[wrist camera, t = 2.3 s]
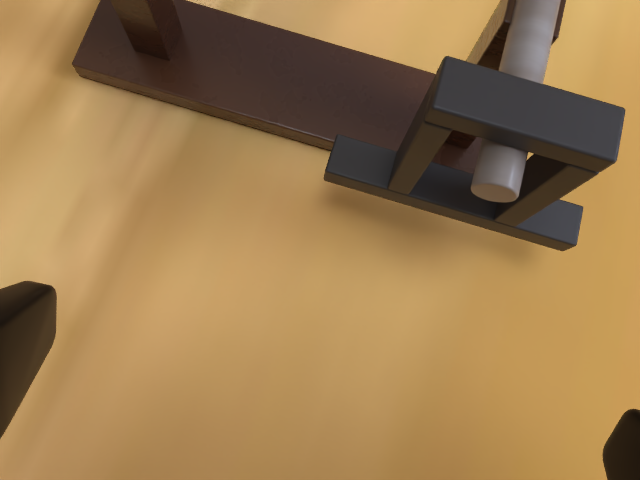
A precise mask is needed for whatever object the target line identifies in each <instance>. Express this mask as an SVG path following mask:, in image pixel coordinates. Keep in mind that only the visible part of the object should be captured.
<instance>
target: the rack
mask: <svg viewBox="0 0 640 480" xmlns="http://www.w3.org/2000/svg"><path fill="white" fill-rule="evenodd" d="M565 3H566V0H501V1H500V2H499V4H498V6H497V8H496V9H495V11H494V13H493V15H492V16H491V18H490V20H489V22H488V23H487V25H486V27H485V28H484V30H483V32H482V34H481V35H480V37H479V39H478V41H477V42H476V44H475V46H474V48H473V49H472V51H471V53H470V55H469V56H468V58H467V60H466V62H470V63H473V64H477V65H480V66H483V67H487V68H490V69H494V70H497V71H500V72H504V73H507V74H511V75H514V76H517V77H521V78H524V79H528V80H531V81H534V82H538V83H541V84H543V80H544V76H545V71H546V67H547V62H548V57H549V53H550V48H551V45H552V44H553V43H554V42H555V40H556V39H557V38H558V35H559V31H560V26H561V21H562V17H563V12H564V7H565ZM72 65H73V67H74V68H75V70H76V71H77V72H78V74H79V75H80V76H82V77H85V78H89V79H92V80H95V81H99V82H102V83H105V84H109V85H112V86H115V87H119V88H122V89H126V90H129V91H132V92H136V93H139V94H142V95H146V96H149V97H152V98H156V99H159V100H163V101H166V102H169V103H173V104H176V105H179V106H183V107H186V108H189V109H193V110H196V111H200V112H203V113H206V114H210V115H213V116H216V117H220V118H223V119H226V120H230V121H233V122H237V123H240V124H243V125H247V126H250V127H253V128H257V129H260V130H263V131H267V132H270V133H274V134H277V135H280V136H284V137H287V138H290V139H294V140H297V141H300V142H304V143H307V144H310V145H314V146H317V147H321V148H324V149H327V150H332V147H333V144H334V140H335V137H336V135H337V134H340V135H344V136H347V137H350V138H354V139H357V140H360V141H364V142H367V143H371V144H374V145H377V146H381V147H384V148H387V149H391V150H394V151H398V149H399V147H400V145H401V143H402V141H403V139H404V137H405V135H406V133H407V131H408V129H409V127H410V125H411V123H412V121H413V119H414V117H415V115H416V113H417V111H418V109H419V107H420V105H421V103H422V101H423V99H424V97H425V95H426V93H427V91H428V89H429V87H430V85H431V83H432V81H433V79H434V77H435V75H436V74H433V73H430V72H427V71H423V70H420V69H416V68H413V67H410V66H406V65H403V64H399V63H396V62H393V61H389V60H386V59H382V58H379V57H376V56H372V55H369V54H366V53H362V52H359V51H355V50H352V49H349V48H345V47H342V46H338V45H335V44H332V43H328V42H325V41H322V40H318V39H315V38H311V37H308V36H305V35H301V34H298V33H294V32H291V31H288V30H284V29H281V28H277V27H274V26H271V25H267V24H264V23H261V22H257V21H254V20H250V19H247V18H244V17H240V16H237V15H233V14H230V13H227V12H223V11H220V10H217V9H213V8H210V7H206V6H203V5H200V4H196V3H193V2H189V1H186V0H100V2H99V5H98V7H97V9H96V11H95V14H94V16H93V18H92V20H91V22H90V25H89V27H88V29H87V31H86V33H85V36H84V38H83V40H82V42H81V44H80V47H79V49H78V51H77V53H76V56H75V58H74V60H73V62H72ZM527 155H528V151H524V150H521V149H517V148H514V147H511V146H507V145H504V144H501V143H497V142H494V141H490V140H487V139H484V138H480V137H477V136H473V135H470V134H467V133H463V132H460V131H457V130H453V131H452V132H451V133H450V135H449V136H448V138H447V139H446V141H445V142H444V144H443V145H442V147H441V148H440V150H439V151H438V152H437V154H436V155H435V157H434V158H433V160H432V161H431V162H435V163H438V164H441V165H445V166H448V167H451V168H455V169H458V170H462V171H465V172H468V173H472V174H474V175H473V180H472V184H471V191H472V193H473V194H475V195H476V196H478V197H480V198H482V199H485V200H488V201H493V202H511V201H514V200H516V199H517V198H518V196H519V192H520V187H521V182H522V178H523V173H524V169H525V164H526V159H527Z"/></svg>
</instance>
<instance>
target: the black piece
mask: <svg viewBox="0 0 640 480" xmlns="http://www.w3.org/2000/svg"><path fill="white" fill-rule="evenodd" d="M624 116H625V109H624V108H623V107H619V106H616V105H613V104H609V103H606V102H602V101H599V100H596V99H592V98H589V97H585V96H582V95H579V94H575V93H572V92H568V91H565V90H562V89H558V88H555V87H551V86H548V85H545V84H541V83H538V82H534V81H531V80H528V79H524V78H521V77H517V76H514V75H511V74H507V73H504V72H500V71H497V70H494V69H490V68H487V67H483V66H480V65H477V64H473V63H470V62H466V61H463V60H460V59H456V58H453V57H449V56H446V57H445V58H444V59H443V60H442V62H441V64H440V66H439V69H438V71H437V73H436V75H435V77H434V79H433V81H432V83H431V85H430V87H429V89H428V91H427V93H426V95H425V97H424V99H423V101H422V103H421V105H420V107H419V109H418V111H417V113H416V115H415V117H414V119H413V121H412V123H411V125H410V127H409V129H408V131H407V133H406V135H405V137H404V139H403V141H402V143H401V145H400V147H399V149H398V151H394V150H391V149H387V148H384V147H381V146H377V145H374V144H371V143H367V142H364V141H360V140H357V139H354V138H350V137H347V136H344V135H340V134H337V135H336V137H335V140H334V144H333V147H332V150H331V153H330V157H329V160H328V163H327V166H326V169H325V174H324V180H325V181H328V182H331V183H335V184H338V185H341V186H345V187H348V188H351V189H355V190H358V191H362V192H365V193H368V194H372V195H375V196H378V197H382V198H385V199H388V200H392V201H395V202H398V203H402V204H405V205H409V206H412V207H415V208H419V209H422V210H425V211H429V212H432V213H435V214H439V215H442V216H446V217H449V218H452V219H456V220H459V221H462V222H466V223H469V224H472V225H476V226H479V227H482V228H486V229H489V230H493V231H496V232H499V233H503V234H506V235H509V236H513V237H516V238H519V239H523V240H526V241H529V242H533V243H536V244H540V245H543V246H546V247H550V248H553V249H556V250H560V251H565V250H567V249H570V248H572V247H574V246H576V245H577V239H578V234H579V229H580V223H581V218H582V212H583V207H582V206H580V205H576V204H573V203H570V202H566V201H563V200H559V199H560V198H561V197H563V196H565V195H566V194H568V193H569V192H571V191H572V190H574V189H576V188H577V187H579V186H580V185H582V184H583V183H585V182H586V181H588V180H590V179H591V178H593V177H594V176H596V175H597V174H598V173H599V172H601V171H603V170H604V169H606V168H608V167H609V166H611V165H612V164H614V163H615V162H616V161H617V156H618V150H619V145H620V139H621V133H622V127H623V121H624ZM453 130H457V131H460V132H463V133H467V134H470V135H473V136H477V137H480V138H484V139H487V140H490V141H494V142H497V143H501V144H504V145H507V146H511V147H514V148H517V149H521V150H524V151H528V152H531V153H534V154H533V155H532V156H531V157H530V158H529V159H528V160H527V161H526V164H525V169H524V173H523V178H522V182H521V187H520V192H519V196H518V198H517V199H516V200H514V201H511V202H493V201H488V200H485V199H482V198H480V197H478V196H476V195H475V194H473V193H472V191H471V184H472V180H473V175H474V174H472V173H468V172H465V171H462V170H458V169H455V168H451V167H448V166H445V165H441V164H438V163H435V162H431V161H432V160H433V158H434V157H435V155H436V154H437V152H438V151H439V150H440V148H441V147H442V145H443V144H444V142H445V141H446V139H447V138H448V136H449V135H450V133H451V132H452V131H453Z"/></svg>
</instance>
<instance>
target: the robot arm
mask: <svg viewBox="0 0 640 480" xmlns="http://www.w3.org/2000/svg"><path fill="white" fill-rule="evenodd" d="M56 303H57V295H56V291H55V289H54V288H53V287H52V286H51V285H46V284H42V283H37V282H32V281H23V282H20V283H17V284H14V285H11V286H8V287H5V288H2V289H0V438H1V437H2V435H3V434H4V432H5V430H6V429H7V427H8V425H9V424H10V422H11V420H12V418H13V417H14V415H15V413H16V411H17V409H18V407H19V406H20V404H21V402H22V400H23V398H24V396H25V395H26V393H27V391H28V389H29V387H30V385H31V384H32V382H33V380H34V378H35V376H36V374H37V373H38V371H39V369H40V367H41V365H42V363H43V362H44V360H45V358H46V356H47V354H48V353H49V351H50V349H51V347H52V345H53V342H54V339H55V334H56ZM603 463H604V467H605V471H606V475H607V480H640V410H637V409H630V410H628V411H626V412H625V413H624V414H623V415H622V417H621V419H620V420H619V422H618V424H617V425H616V427H615V429H614V430H613V432H612V434H611V435H610V437H609V439H608V440H607V442H606V444H605V446H604V449H603Z"/></svg>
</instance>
